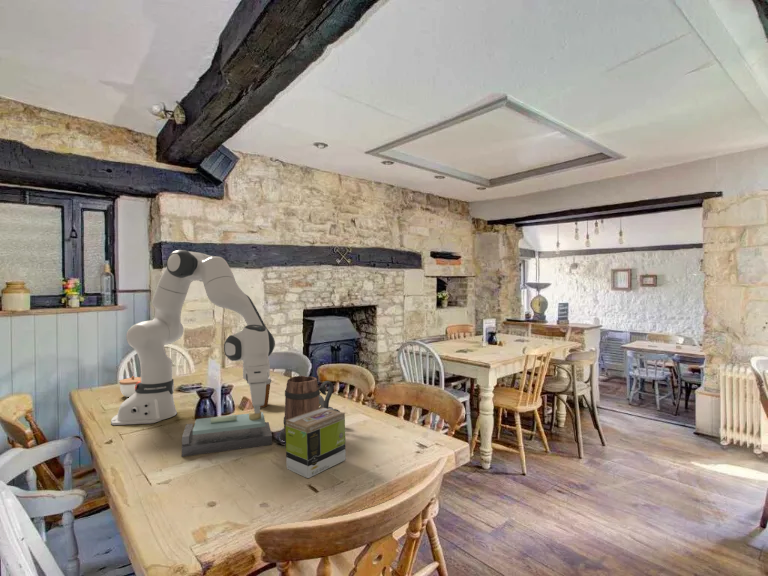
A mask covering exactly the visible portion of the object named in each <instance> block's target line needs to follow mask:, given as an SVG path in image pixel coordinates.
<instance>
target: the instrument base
mask: <svg viewBox="0 0 768 576" xmlns="http://www.w3.org/2000/svg"><path fill="white" fill-rule="evenodd" d="M193 428H194V424H193V423H186V425H185V427H184V430H183V433H182V437H181V457H191V456H197V455H204V454H205V455H206V454H213V453H219V452H226V451H235V450H241V449H249V448H250V449H251V448H256V447H262V446H270V445H271V446H272V445H273V434H272V429H271V426H270V423H269V422H268V421H265V427H257V428H248V429H240V430H231V431H223V432H214V433H206V434H197V435H193Z"/></svg>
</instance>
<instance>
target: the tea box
mask: <svg viewBox="0 0 768 576" xmlns="http://www.w3.org/2000/svg"><path fill="white" fill-rule="evenodd" d="M345 418H346V416H345V412H341V411H340V412H338V411H334V410H330V409H327V408H324V407H323V408H320V409H317V410H314V411H311V412H308V413H305V414H302V415H299V416H296V417H293V418H290V419H287V420H286V443H285V457H286V462H285V464H286V469H287V470H289V471H290V472H293V473H295V474H297V475H298V476H299V475H300V476H301V477H304V478H305V479H309V478H312V477H314V476H316V475H318V474H320V473H321V472H324V471H326V470H328V469H330V468H332V467H334V466H336V465H338V464H340V463H343V462H344V461H346V460H347V458H346V457H347V455H346V453H347V452H346V451H347V450H346V420H345Z"/></svg>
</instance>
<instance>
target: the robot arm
mask: <svg viewBox="0 0 768 576" xmlns="http://www.w3.org/2000/svg"><path fill="white" fill-rule="evenodd" d="M194 281H199V282H202V283H203V287H204V289H205V293H206V296H207V298H208V299H209V301H210V302H211V303H212V304H213V305H215V306H216V307H219V308H223V309H226V310H230V311H233V312H235V313H238V314H239V315H241V317H243V319H244V321H245V322H246V324H247V325H245V326H244V327H243V329H241V331H239V332H236V333H234V334H230V335H229V336H227V338H226V339H225V341H224V344H223V352H224V355H225V356H226V358H227V359H229V360H230V361H233V362H234V361H235V362H239V361H242V379H243V380H245V381H246V383H247V385H248V386H249V391H250V399H251V403H252V404H251V405H252V407H253V411H254V412H255V414H257V413H260V411H261V408H260V406H263V405H264V403H265V394H266V382H267V381H268V378H269V377H271V370H270V367H271V365H270V364H271V363H270V359H269V356H270V355H271V354H272V353H273V352H274V350H275V347H276V341H275V338H274V336H273V334H272V333H271V332H270V330H269V329H268V327H267V326H266V324H265V322H264V321H263V318H262V316H261V315H260V313H259V311H258V309H257V308H256V306H255V304H254V302H253V300H252V298H251V297H250V296H249V295H248V294H246V293H245V292H244V291H243V290H242V289H241V287H240V286H239V285H238V284H237V283H238V282H237V281H236V279H235V276H234V274H233V272H232V269H231V268H230V265H229V264H228V262H227V261H226V259H225V258H223V257H221V256H218V255H217V256H214V255H209V254H206V253H203V252H198V251H197V252H196V251H191V250H190V251H189V250H186V249H178V250H174V251H172V252H171V253H170V254H169V255H168V256H167V259H166V267H165V268H164V270H163V272H162V274H161V275H160V278H159V280H158V282H157V285H156V288H155V291H154V294H153V297H152V300H151V305H152V307H153V308H154V316H153V319H152V320H151V319H149V320H145V321H144V320H143V321H139V322H137V323H135V324H133V325H130V326H131V327H129V329H127V332H126V342H127V344H128V345H129V346H130V347H131V348H132V349H133V350H134V351H135V352H136V354H137V357H138V359H139V364H140V377H141V381H138V382H137V383H136V385H135V391H136V392H135V393H134V394H133V395H131V396H130V397H129V398H126V399H125V400H124V401H122V403H120V405H119V408H118V411H117V414H115V415H114V416H113V417H112V418H111V420H110V424H111V426H112V425H113V426H123V425H126V426H127V425H141V424H142V425H144V424H154V423H158V422H160V421H162V420H163V421H164V420H166V419H169V418H172V417H174V416H176V415H177V414H178V412H177V409H176V405H175V399H174V392H175V383H174V379H173V361H172V359H171V357H169V356H168V355H167V353H166V350H165V346H167V345H168V346H169V345H171V344H173V343H175V342H177V341H178V340H179V339H181V338H182V337H183V335H184V327H183V324H182V322H181V320H182V319H181V318H182V317H181V316H182V310H183V309H182V308H183V306H184V304H185V301H186V297H187V295H188V292H189V288H190V285H191V284H192V282H194Z"/></svg>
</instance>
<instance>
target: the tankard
mask: <svg viewBox="0 0 768 576" xmlns="http://www.w3.org/2000/svg"><path fill="white" fill-rule="evenodd" d="M327 385H328V391H327ZM334 387H335V386H334V384H333V383H332V381H329V380H325V381H323V382H322V383H321V384H320V386H319V383H318V379H317V377H314V376H305V375H296V376H292V377H290V378H288V379H287V382H286V387H285V390H284V397H285V399H284V416H283V428H282V429H281V431H280V433H279V434H280V435H279V434H278V435H279V437H280V439H281V440H283V441H285V442H286V420H287V419H290V418H293V417H296V416H299V415H302V414H305V413H308V412H311V411H314V410H317V409H319V407H320V406H319V391H321V393H320V394H322V395H324V396H325V397H324V401H325V402H324V408H327V409H328V407H330V405H329V403H330V400H331V397H332V395H333V393H334V389H335V388H334ZM333 410H334V411H338V412H341V411H340V410H339V409H337V408H333Z"/></svg>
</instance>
